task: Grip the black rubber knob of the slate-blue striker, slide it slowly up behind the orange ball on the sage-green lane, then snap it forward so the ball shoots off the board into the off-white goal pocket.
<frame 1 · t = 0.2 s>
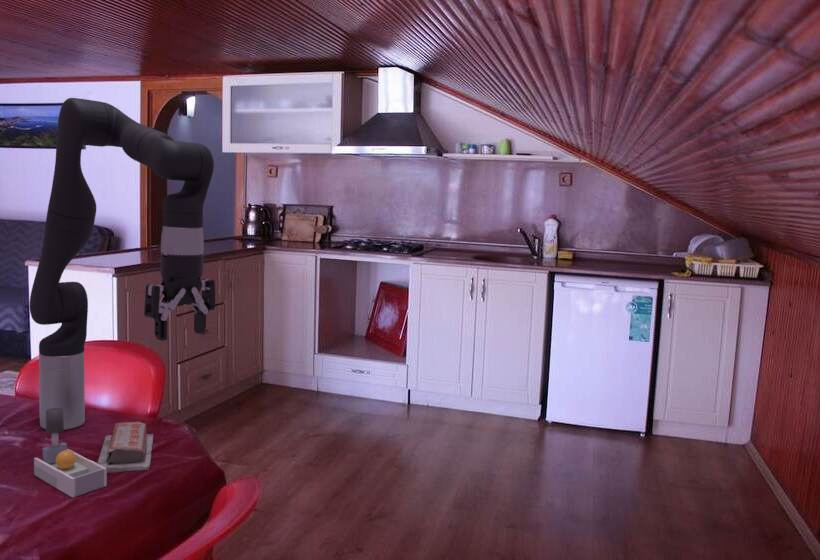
hand: (180, 336, 125), 29 cm above the table, fingers open, 8 cm apart
packaged product: (126, 457, 139), on the table
goal: (81, 487, 123), on the table
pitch: (62, 476, 127), on the table
striker: (54, 435, 128), point 7 cm above the table, slide at 0.0 cm
ball: (65, 459, 126), point 4 cm above the table, touching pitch
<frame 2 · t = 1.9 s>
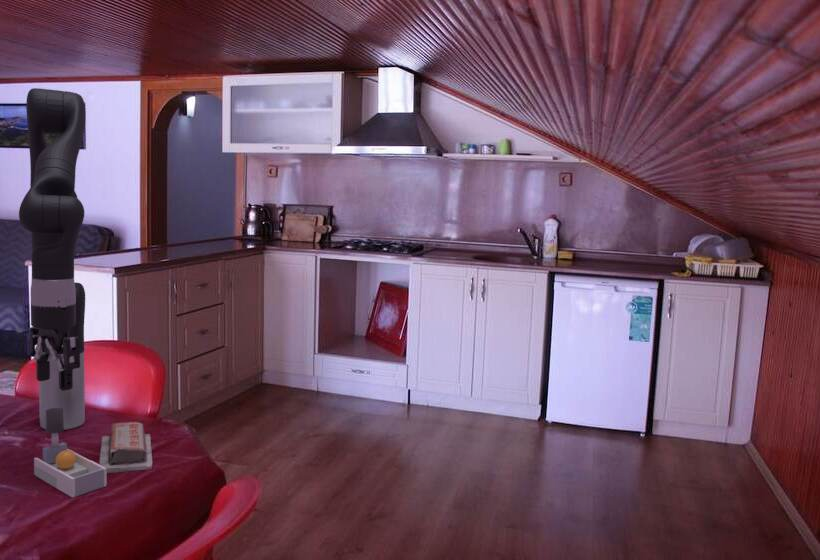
hand: (54, 384, 127), 18 cm above the table, fingers open, 8 cm apart
nothing on the table moved.
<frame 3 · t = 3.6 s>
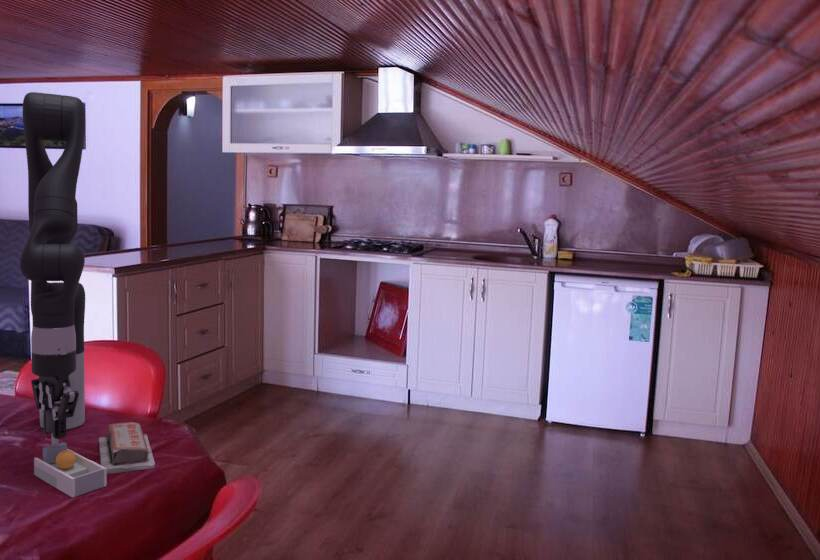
hand: (54, 434, 128), 8 cm above the table, fingers closed on striker, 3 cm apart
striker: (54, 435, 128), point 7 cm above the table, slide at 0.0 cm, touching gripper
everything else where it was.
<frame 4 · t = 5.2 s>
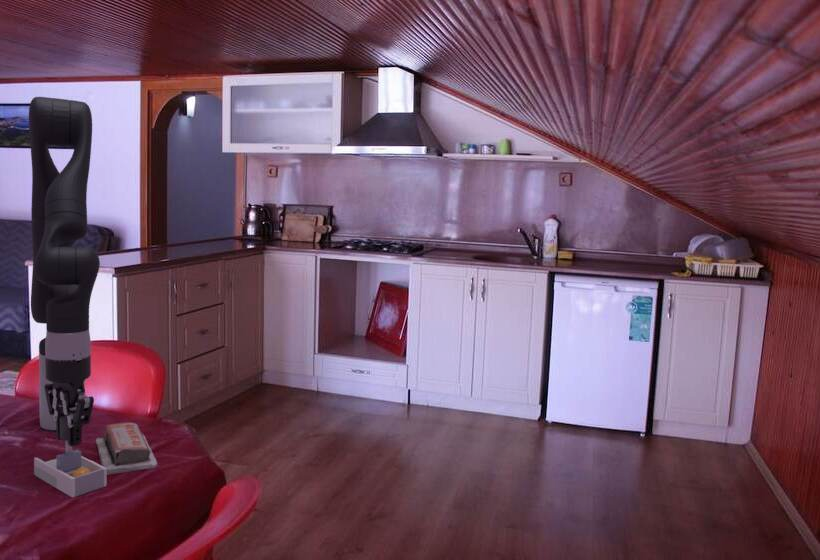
hand: (69, 441, 125), 8 cm above the table, fingers open, 3 cm apart
striker: (68, 442, 125), point 7 cm above the table, slide at 5.2 cm
ball: (81, 477, 123), point 2 cm above the table, tilted 162°, touching goal
everything else where it was.
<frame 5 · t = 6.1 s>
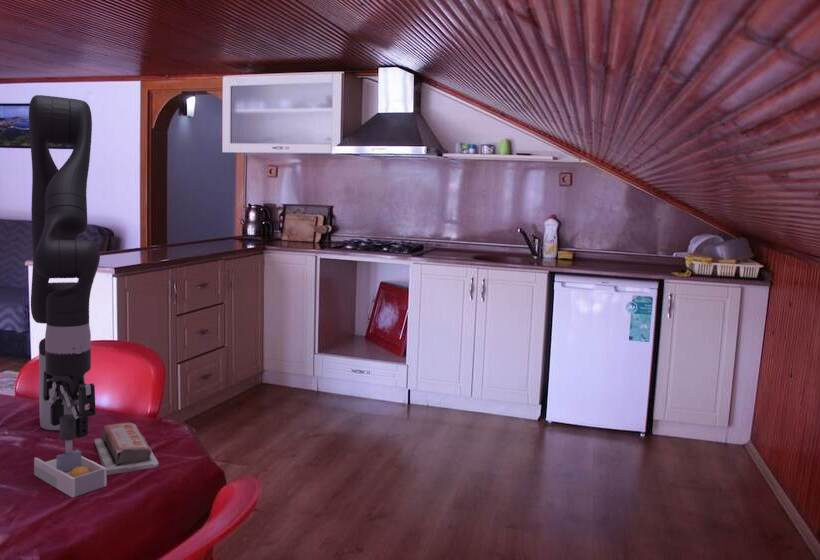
hand: (68, 430, 125), 10 cm above the table, fingers open, 8 cm apart
ball: (79, 475, 124), point 2 cm above the table, tilted 171°, touching goal
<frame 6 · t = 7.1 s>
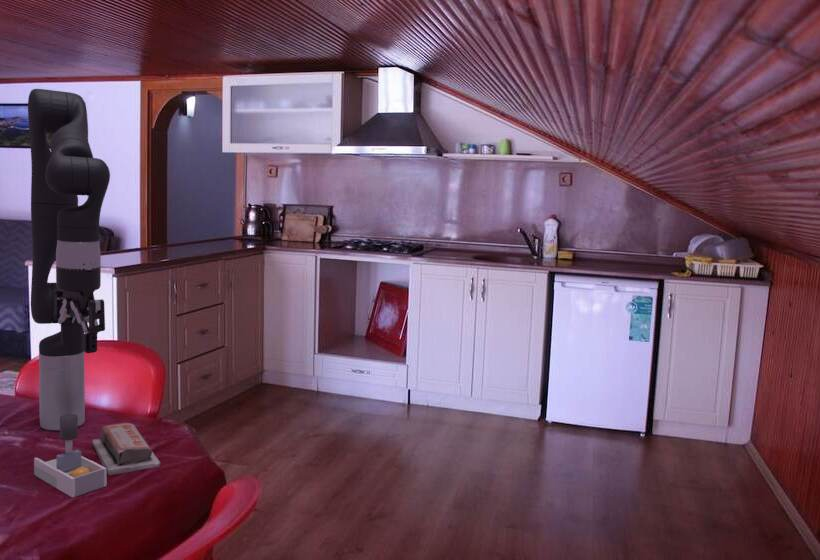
hand: (78, 347, 127), 25 cm above the table, fingers open, 8 cm apart
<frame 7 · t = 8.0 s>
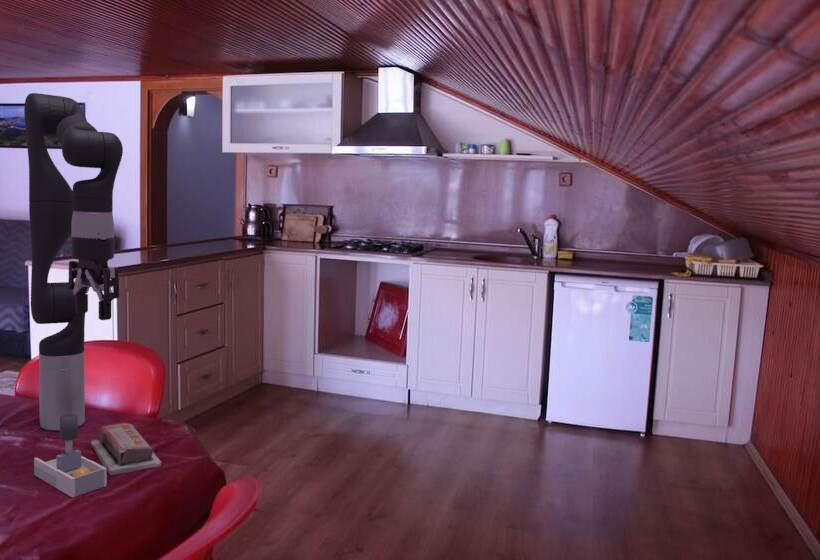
hand: (93, 316, 131), 30 cm above the table, fingers open, 8 cm apart
ball: (82, 477, 123), point 2 cm above the table, tilted 159°, touching goal
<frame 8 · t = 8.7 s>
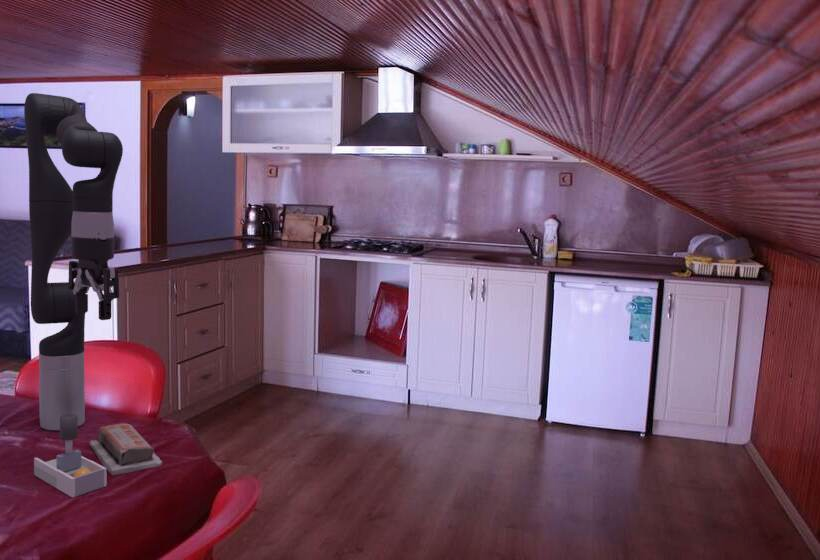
hand: (93, 316, 131), 30 cm above the table, fingers open, 8 cm apart
ball: (83, 477, 123), point 2 cm above the table, tilted 147°, touching goal
at the end: ball 0.7 cm from the target spot, point 1.9 cm above the table; striker slide at 5.2 cm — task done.
